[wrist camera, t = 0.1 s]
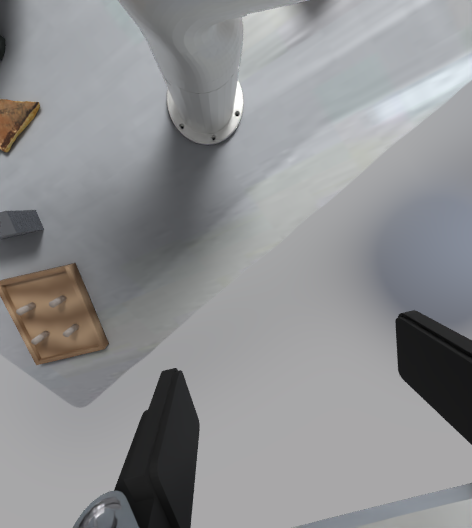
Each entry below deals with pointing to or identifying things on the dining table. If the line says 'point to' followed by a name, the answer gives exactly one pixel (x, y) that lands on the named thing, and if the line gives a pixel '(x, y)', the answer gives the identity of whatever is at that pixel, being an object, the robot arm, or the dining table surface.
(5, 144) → the shard
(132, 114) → the dining table surface
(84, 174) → the dining table surface
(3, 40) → the ceramic cat
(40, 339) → the pin tray
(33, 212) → the block
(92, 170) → the dining table surface
